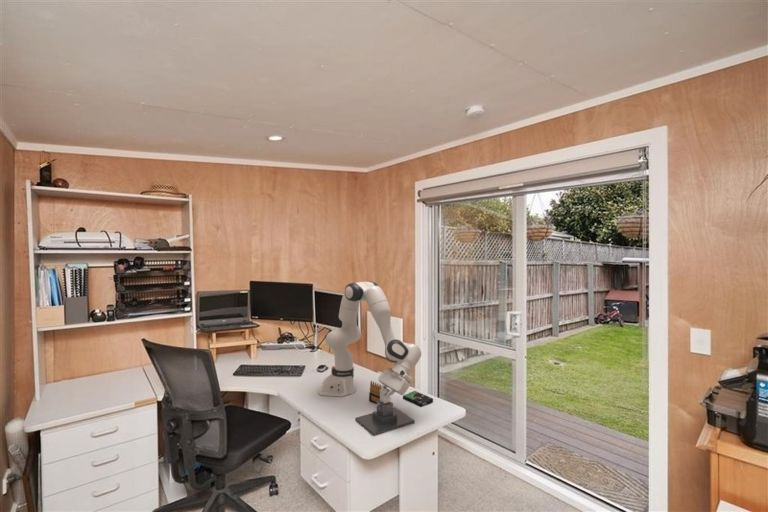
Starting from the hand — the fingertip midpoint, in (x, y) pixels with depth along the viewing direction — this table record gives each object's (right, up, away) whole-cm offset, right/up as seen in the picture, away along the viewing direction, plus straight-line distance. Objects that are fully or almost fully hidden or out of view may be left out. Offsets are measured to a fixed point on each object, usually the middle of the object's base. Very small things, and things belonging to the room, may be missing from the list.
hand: (383, 395), depth 189 cm
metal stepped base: (0, -14, +1) cm, 14 cm away
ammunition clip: (-4, -13, +23) cm, 27 cm away
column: (0, -12, +1) cm, 12 cm away
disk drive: (+20, -14, +27) cm, 36 cm away
